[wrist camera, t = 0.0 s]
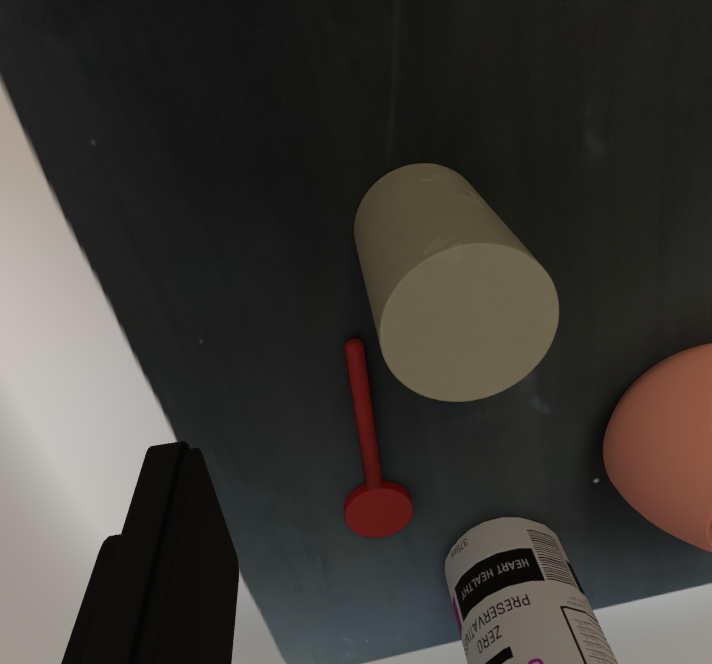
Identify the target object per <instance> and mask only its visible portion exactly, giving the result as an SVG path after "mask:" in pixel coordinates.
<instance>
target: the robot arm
mask: <svg viewBox="0 0 712 664" xmlns="http://www.w3.org/2000/svg"><path fill="white" fill-rule="evenodd" d="M238 582H239V566H238V559H237V555H236V551H235V548H234V546H233V543H232V540H231V537H230V534H229V531H228V528H227V525H226V522H225V519H224V516H223V513H222V510H221V507H220V504H219V502H218V499H217V496H216V493H215V490H214V487H213V484H212V481H211V478H210V475H209V472H208V469H207V466H206V463H205V460H204V458H203V455H202V452H201V450H200V449H199V448H194V449H190V448H189V445H188V444H187V443H186V442H185V441H181V442H175V443H168V444H162V445H156V446H151V447H150V448H148V450H147V452H146V455H145V459H144V462H143V465H142V468H141V472H140V475H139V478H138V481H137V485H136V488H135V491H134V494H133V497H132V501H131V504H130V507H129V510H128V514H127V517H126V520H125V524H124V527H123V530H122V533H121V534H119V535H114V536H109V537H108V538H107V539H106V540H105V541H104V542H103V544H102V546H101V549H100V551H99V554H98V557H97V560H96V563H95V566H94V569H93V571H92V574H91V577H90V581H89V583H88V586H87V589H86V592H85V595H84V599H83V601H82V604H81V607H80V610H79V613H78V616H77V619H76V622H75V625H74V628H73V631H72V634H71V637H70V640H69V643H68V646H67V649H66V652H65V654H64V658H63V660H62V663H61V664H231V660H232V650H233V638H234V627H235V616H236V603H237V593H238Z"/></svg>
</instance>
